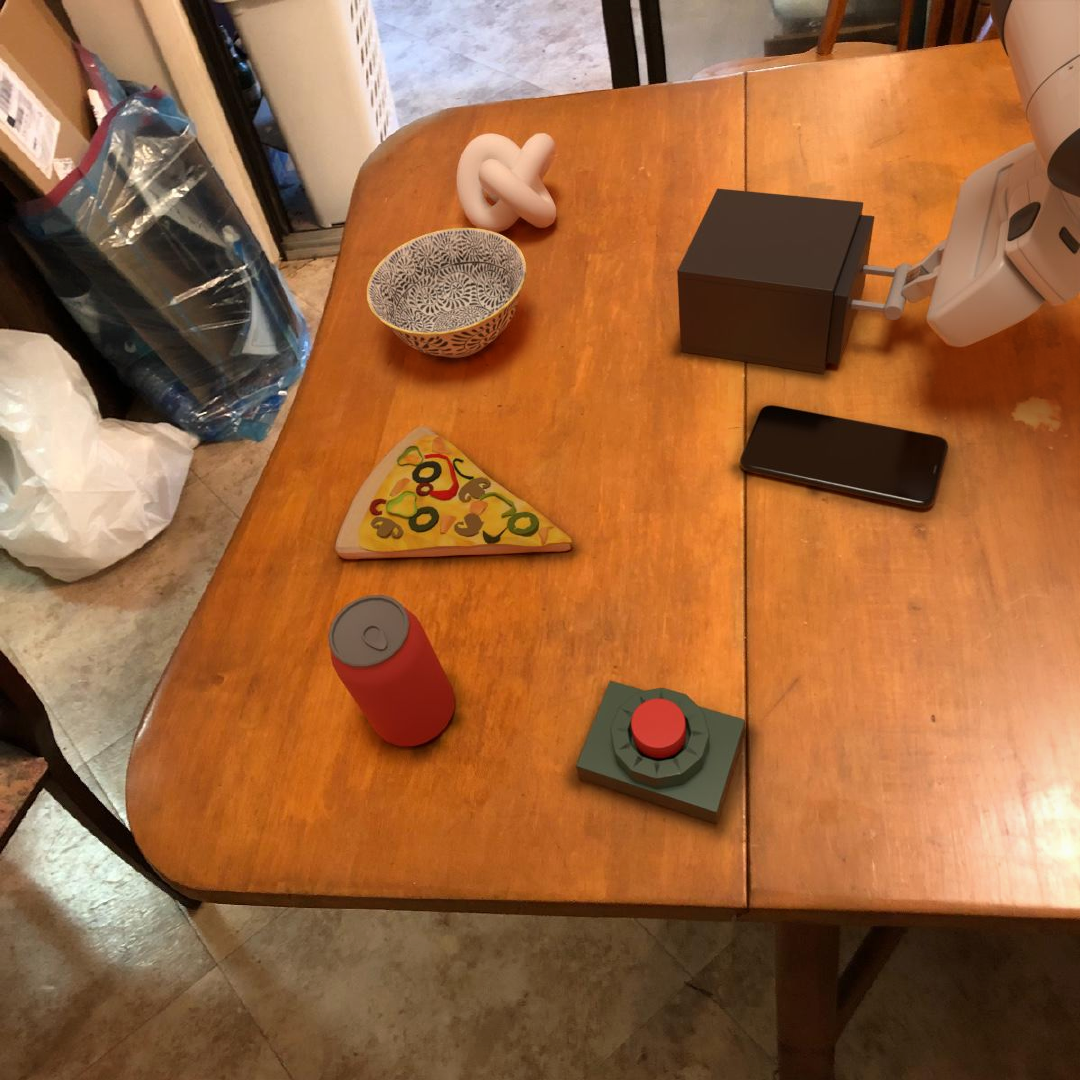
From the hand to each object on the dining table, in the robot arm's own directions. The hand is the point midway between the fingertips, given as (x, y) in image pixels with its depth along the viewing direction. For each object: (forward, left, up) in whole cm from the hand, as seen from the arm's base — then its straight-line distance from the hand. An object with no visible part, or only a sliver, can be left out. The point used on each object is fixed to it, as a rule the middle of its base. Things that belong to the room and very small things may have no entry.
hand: (908, 287), depth 83 cm
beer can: (+27, +49, -6) cm, 56 cm away
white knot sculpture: (+45, -11, -6) cm, 46 cm away
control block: (+8, +47, -6) cm, 48 cm away
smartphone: (+2, +16, -6) cm, 17 cm away
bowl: (+42, +9, -6) cm, 43 cm away
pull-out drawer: (+8, 0, -5) cm, 10 cm away
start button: (+8, +47, -2) cm, 47 cm away
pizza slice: (+31, +31, -6) cm, 44 cm away
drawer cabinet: (+12, 0, -6) cm, 14 cm away
